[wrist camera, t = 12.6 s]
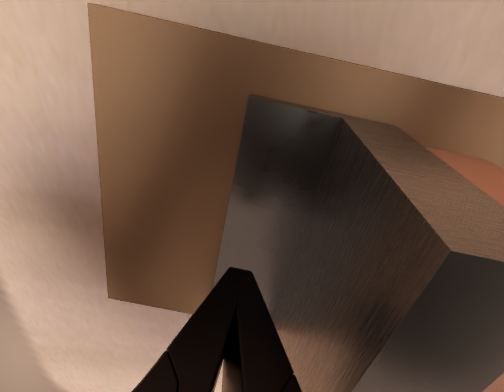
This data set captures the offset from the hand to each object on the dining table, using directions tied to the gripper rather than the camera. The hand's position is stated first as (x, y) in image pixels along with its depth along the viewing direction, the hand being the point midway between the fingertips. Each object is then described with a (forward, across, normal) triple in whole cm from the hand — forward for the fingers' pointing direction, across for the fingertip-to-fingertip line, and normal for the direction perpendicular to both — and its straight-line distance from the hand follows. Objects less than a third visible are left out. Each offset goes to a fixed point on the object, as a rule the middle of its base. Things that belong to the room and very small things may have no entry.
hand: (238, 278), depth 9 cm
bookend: (+3, -2, 0) cm, 4 cm away
